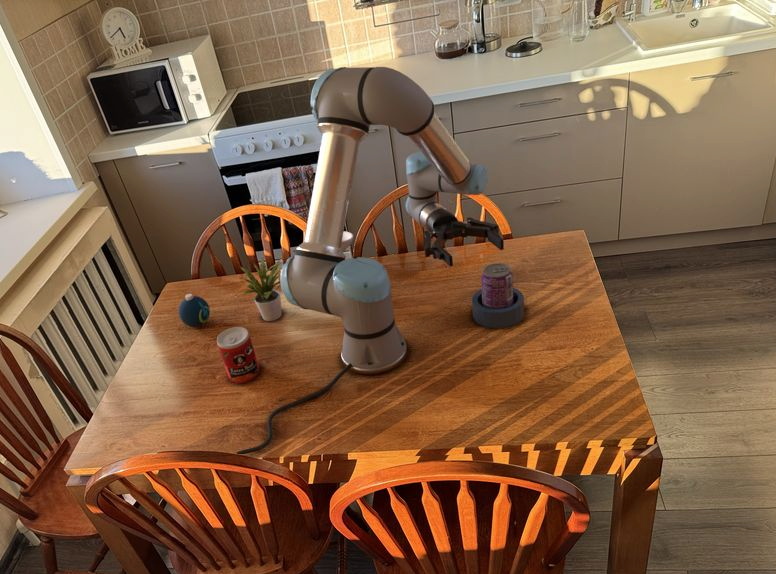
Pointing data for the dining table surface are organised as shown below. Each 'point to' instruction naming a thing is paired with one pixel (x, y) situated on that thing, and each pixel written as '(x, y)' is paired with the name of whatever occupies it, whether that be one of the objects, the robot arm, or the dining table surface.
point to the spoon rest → (346, 240)
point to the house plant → (266, 291)
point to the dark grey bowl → (498, 311)
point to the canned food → (238, 354)
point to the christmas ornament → (194, 311)
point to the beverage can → (497, 286)
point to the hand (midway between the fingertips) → (476, 253)
